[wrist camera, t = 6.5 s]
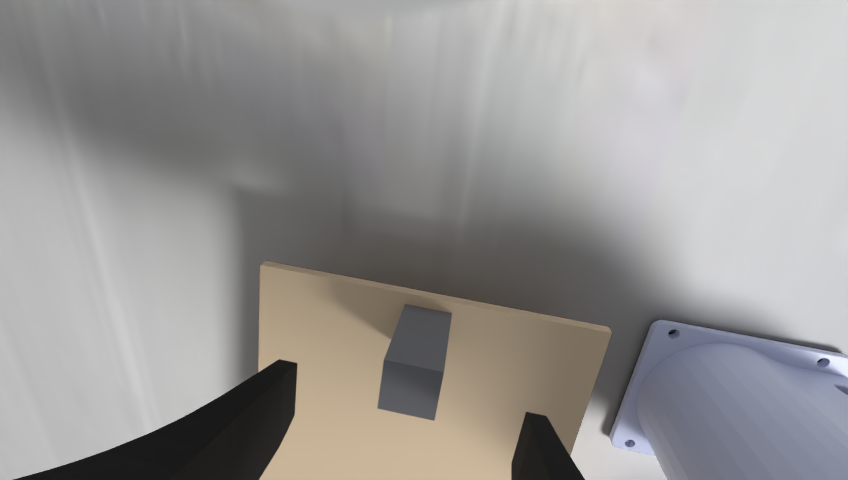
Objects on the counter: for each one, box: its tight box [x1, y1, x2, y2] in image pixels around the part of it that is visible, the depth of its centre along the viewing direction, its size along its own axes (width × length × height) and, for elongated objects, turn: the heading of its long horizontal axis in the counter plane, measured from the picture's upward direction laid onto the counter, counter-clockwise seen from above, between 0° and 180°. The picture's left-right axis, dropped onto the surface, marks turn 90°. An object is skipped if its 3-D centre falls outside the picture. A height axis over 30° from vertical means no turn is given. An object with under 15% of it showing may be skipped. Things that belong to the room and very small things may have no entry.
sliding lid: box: [258, 261, 612, 480], centre depth 18 cm, size 15×16×4 cm
